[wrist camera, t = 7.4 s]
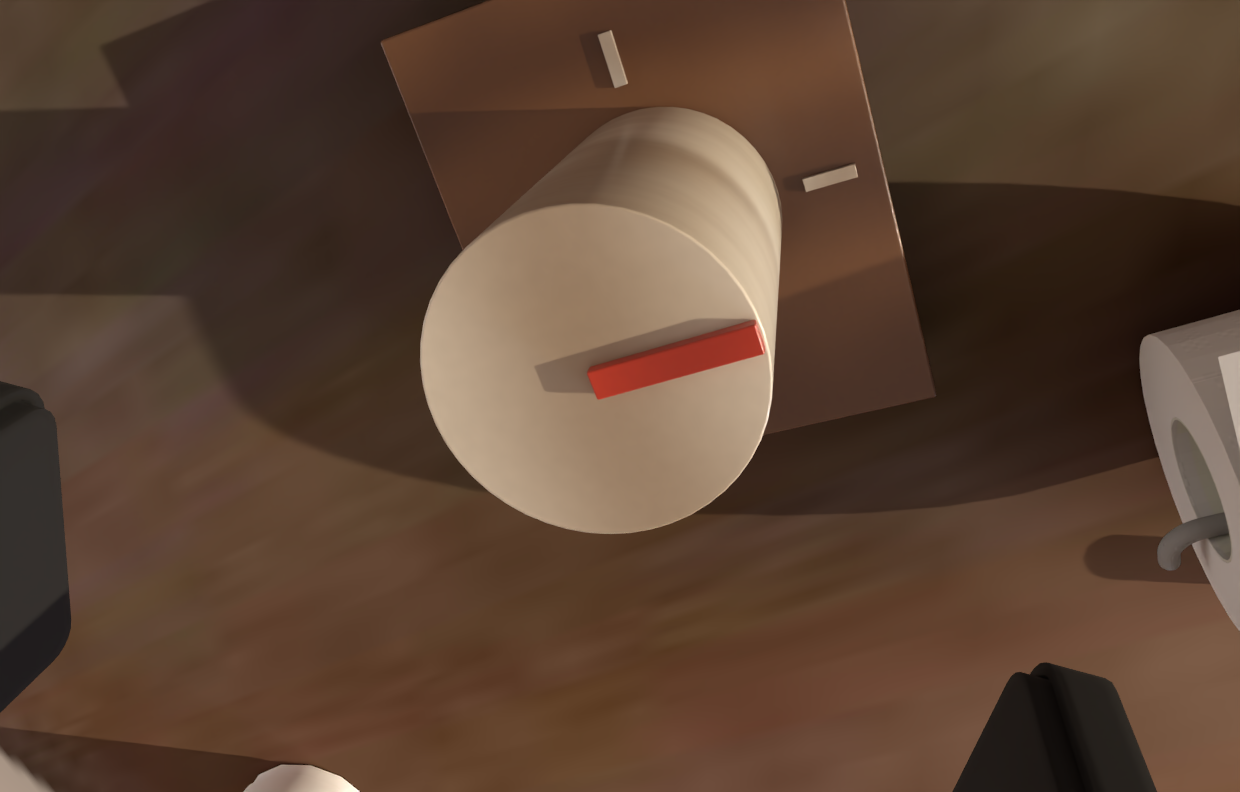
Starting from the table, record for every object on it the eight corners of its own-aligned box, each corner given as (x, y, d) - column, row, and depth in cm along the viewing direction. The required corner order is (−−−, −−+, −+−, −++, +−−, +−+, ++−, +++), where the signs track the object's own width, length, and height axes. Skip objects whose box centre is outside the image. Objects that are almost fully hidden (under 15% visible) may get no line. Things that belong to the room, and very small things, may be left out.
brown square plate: (416, 32, 29) (376, 41, 27) (815, -116, 26) (816, -124, 23) (572, 441, 34) (552, 485, 31) (925, 358, 31) (938, 399, 28)
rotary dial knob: (600, 358, 29) (496, 574, 19) (519, 152, 27) (354, 273, 17) (810, 296, 28) (817, 500, 18) (741, 71, 26) (703, 154, 15)
